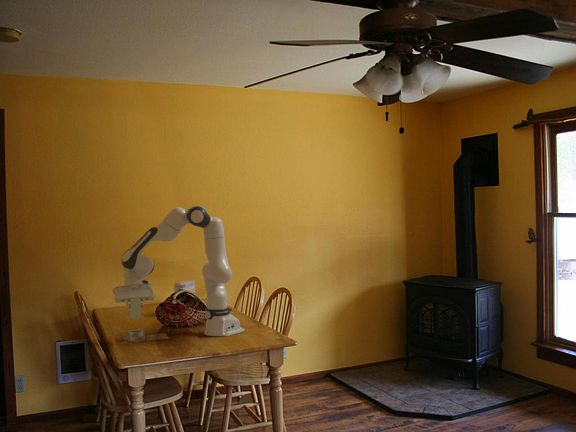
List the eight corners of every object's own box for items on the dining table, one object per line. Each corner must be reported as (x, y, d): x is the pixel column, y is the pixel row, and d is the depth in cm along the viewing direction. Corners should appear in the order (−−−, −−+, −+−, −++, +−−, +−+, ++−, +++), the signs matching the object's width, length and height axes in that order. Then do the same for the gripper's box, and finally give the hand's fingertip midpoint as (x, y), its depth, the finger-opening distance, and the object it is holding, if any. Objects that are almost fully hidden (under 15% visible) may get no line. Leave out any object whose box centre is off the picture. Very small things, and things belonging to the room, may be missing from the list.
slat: (140, 317, 282) (140, 298, 281) (140, 318, 280) (140, 299, 279) (130, 318, 280) (130, 299, 279) (130, 319, 278) (130, 299, 278)
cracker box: (188, 311, 357) (188, 279, 356) (195, 312, 354) (195, 280, 353) (174, 315, 345) (173, 282, 344) (181, 316, 342) (180, 283, 341)
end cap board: (165, 336, 292) (165, 325, 292) (169, 341, 281) (169, 330, 280) (123, 340, 283) (122, 329, 283) (125, 345, 272) (125, 335, 272)
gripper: (113, 283, 282) (114, 305, 273) (153, 280, 289) (156, 302, 281) (112, 290, 286) (114, 312, 277) (152, 288, 294) (154, 309, 285)
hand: (135, 307), depth 279 cm, fingers closed on slat, 5 cm apart
